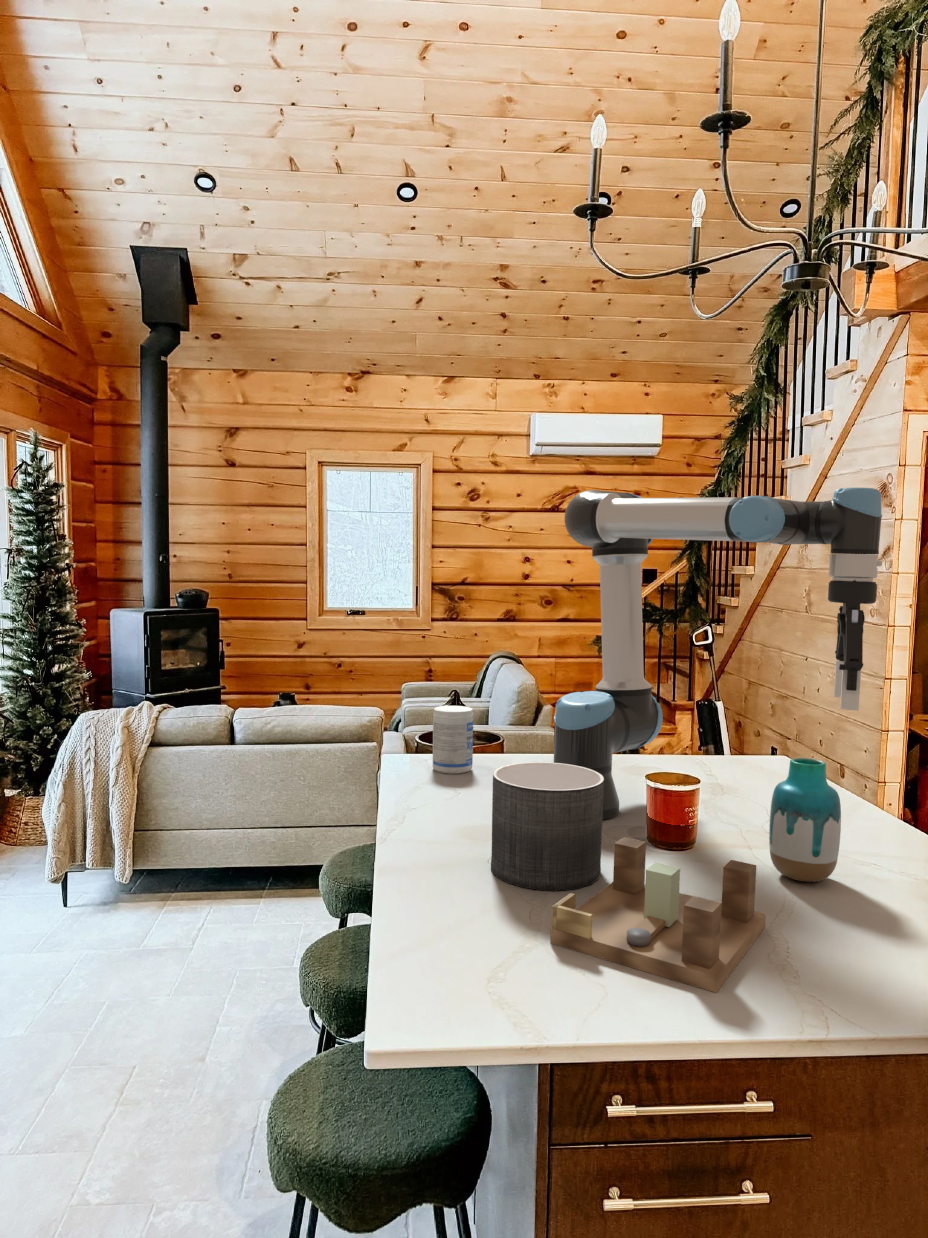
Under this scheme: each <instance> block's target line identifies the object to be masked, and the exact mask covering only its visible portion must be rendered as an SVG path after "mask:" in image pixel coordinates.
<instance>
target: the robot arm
mask: <svg viewBox="0 0 928 1238" xmlns="http://www.w3.org/2000/svg"><path fill="white" fill-rule="evenodd" d="M564 511H565V512H564V526H565V528H566V531H567V533H568V535H569V537H570V538H571V539H573V541H575V542H576V543H577V544H579V545H581V546H584V547H589V548H591V554H592V555H591V558H592V560H594V561H595V562H596V563H597V564H598V566H599V583H600V584H599V585H600V586H599V587H600V625H601V629H600V630H601V659H602V660H601V663H602V664H601V665H602V679H601V680H600V681H599V682H598V683H597V684H596V685H595V690H586V691H575V692H570V693H567V694H565V695H563V696H561V697H559V698H558V700H557V701H556V703H555V711H554V712H555V713H554V716H553V721H554V723H553V724H554V729H553V730H554V734H553V735H554V736H553V763H562V764H569V765H575V766H580V767H584V768H588V769H591V770H594V771H596V772H598V773H600V774H601V775H602V776H603V777H604V794H603V818H602V821H603V820H609V819H613V818H614V817H617V816H618V815H619V814H620V799H619V796H618V792H617V789H616V786H615V785H616V784H615V782H614V778H613V774H612V773H613V772H612V769H613V754H616V753H619V752H625V751H629V750H637V749H640V748H641V747H644V746H646V745H648V744H650V743H651V742H653V741H654V740H655V738H657V737H658V735H659V733H660V731H661V729H662V725H663V722H664V721H663V719H664V718H663V715H664V714H663V709H662V707H661V704H660V702H657V698H656V697H655V696H653V695H652V694H653V693H652V691H653V690H652V689H653V688H652V684H651V683H650V682H649V681H648V680H646V679H645V676H644V674H645V673H644V635H643V634H644V633H643V630H644V629H643V627H644V626H643V597H642V595H643V594H642V593H643V592H642V591H643V590H642V586H643V585H642V563H643V562H644V561H645V560H646V559H647V558H648V556H649V545H650V544H652V542H653V540H680V541H681V540H687V541H689V540H690V541H720V542H723V541H724V542H726V541H727V542H744V543H745V542H747V543H770V544H776V545H780V546H783V545H784V546H790V545H830V554H829V565H828V567H829V568H828V576H829V577H830V578H831V579H832V580H830V581H829V582H828V591H827V600H828V601H829V602H830V603H836V604H839V603H840V604H842V605H840V606H839V608H838V610H839V612H837V617H836V619H837V620H836V621H837V629H836V630H837V637H836V648H835V651H834V653H835V658H836V660H835V674H834V688H833V689H834V691H833V697H834V698H840V705H839V706H840V710H843V711H844V710H845V711H847V710H848V711H859V710H860V708H859V707H860V693H861V691H860V690H861V679H862V678H861V677H862V674H861V673H862V672H861V671H862V669H863V667H864V663H863V661H864V660H863V656H864V655H863V653H864V652H863V651H864V650H863V648H864V647H863V645H864V644H863V642H864V641H863V640H864V639H863V637H864V624H865V619H866V617H865V612H864V610H863V609H861V604H863V605H865V604H866V605H872V604H875V603H876V602H877V594H878V593H877V592H878V584H877V583H876V581H874V579H876V578H877V577H878V572H879V571H878V570H879V569H878V567H882V565H883V562H882V560H878V559H879V554H880V540H881V539H880V538H881V526H882V518H883V514H882V493H881V491H879V490H878V489H877V488H873V487H844V488H843V487H841V488H840V487H839V488H837V489H835V490H834V492H833V496H832V500H825V501H824V500H823V501H798V500H793V499H792V500H790V499H782V498H775V497H770V496H768V495H767V496H766V495H750V496H749V495H748V496H744V497H736V496H734V497H733V496H730V497H726V496H725V497H719V496H718V497H715V496H714V497H642V496H640V495H637V494H633V493H630V492H618V491H609V490H608V491H607V490H599V489H591V490H590V489H589V490H585V491H582V492H579V493H578V494H576V495H575V496H574V497H573V498H572V499H570V501H569V502H568V505H567V506H566V509H565V510H564Z"/></svg>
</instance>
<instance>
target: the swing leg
mask: <svg viewBox="0 0 928 1238" xmlns="http://www.w3.org/2000/svg"><path fill="white" fill-rule="evenodd" d="M680 878H681V867H677V866H673V865H669V864H664V863H660V862H654V863H653V864H652V865H650V866H649V867H648V868H645V883H644V885H645V907H644V920H643V921H642V922H641V923H640V924H638V925H637V926H636V927H635V928H631V929H629V930H627V942H628V943H630V944H632V945H636V946H647V945H649V944H650V943H651V939H652V938H653V937H654V936H655V935H656V934H658V933H659V932H660V931H661V930H662V929H663V928H664V927H665V926H666V927H670V926H671V925H672V924H673V923H674V922H675V921H676V920H677V919H678V910H679V893H680V885H681V884H680V881H681V879H680Z"/></svg>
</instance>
